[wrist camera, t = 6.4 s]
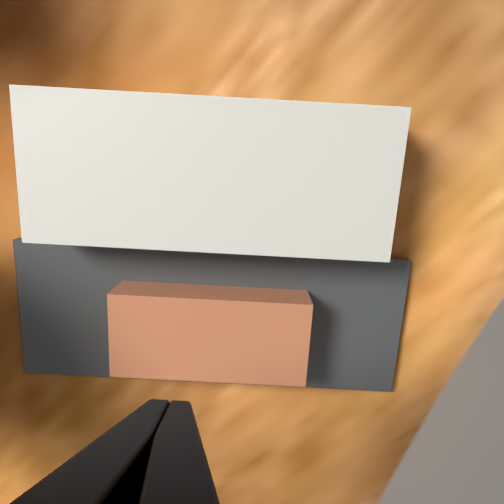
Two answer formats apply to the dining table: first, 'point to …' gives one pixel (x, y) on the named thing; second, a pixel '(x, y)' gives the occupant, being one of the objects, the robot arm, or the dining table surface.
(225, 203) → the block
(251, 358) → the pink rectangular block
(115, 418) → the dining table surface
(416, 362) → the dining table surface
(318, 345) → the mat
